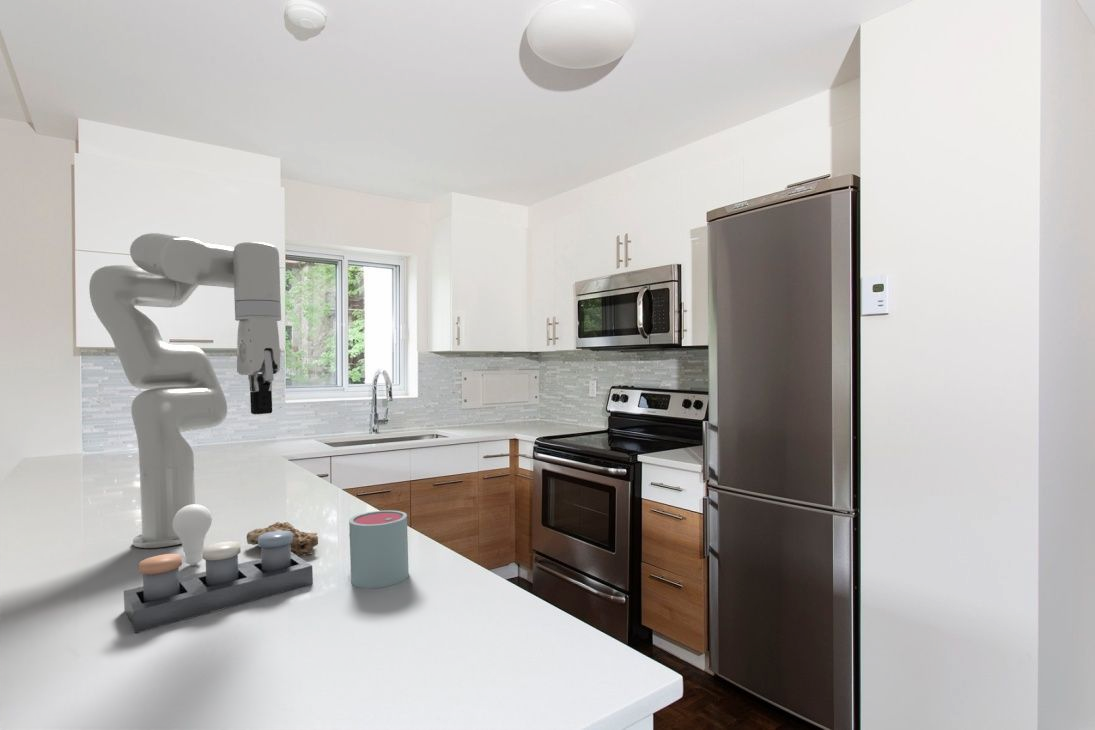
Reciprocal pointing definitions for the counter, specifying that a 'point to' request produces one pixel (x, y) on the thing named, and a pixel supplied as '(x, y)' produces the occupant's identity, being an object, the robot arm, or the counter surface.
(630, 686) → the counter surface
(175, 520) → the lightbulb
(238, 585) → the key panel
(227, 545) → the cream key
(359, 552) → the mug
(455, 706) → the counter surface
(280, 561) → the light blue cylinder
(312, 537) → the rock
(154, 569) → the terracotta key
